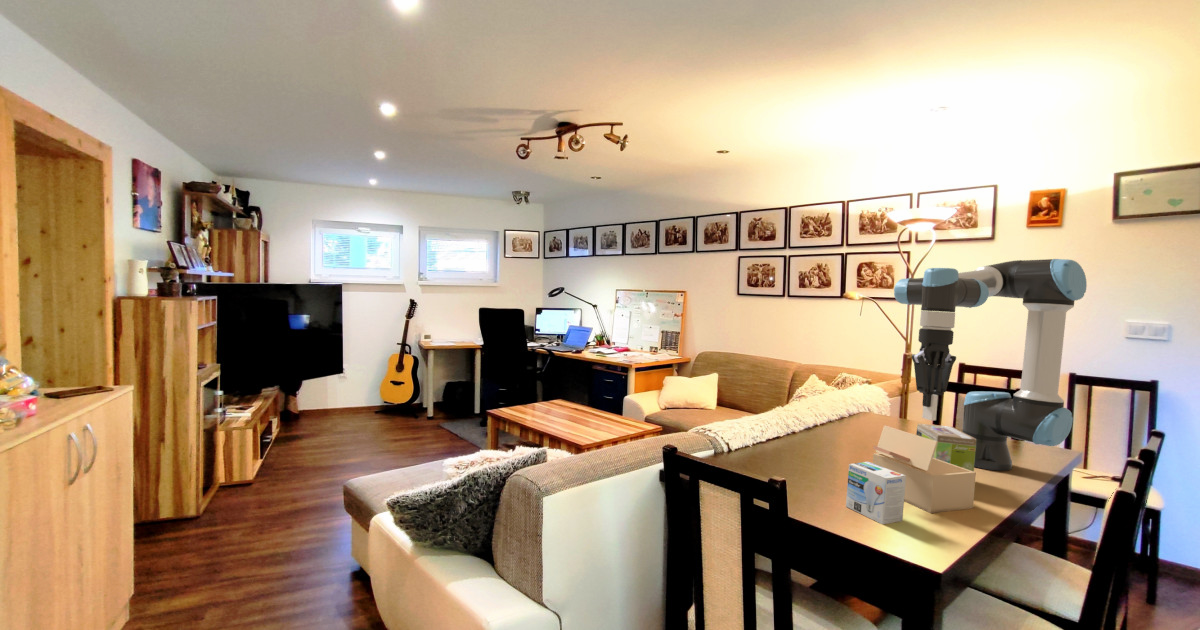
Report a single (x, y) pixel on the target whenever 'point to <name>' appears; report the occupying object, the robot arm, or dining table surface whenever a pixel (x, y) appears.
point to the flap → (906, 447)
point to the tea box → (950, 444)
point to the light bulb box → (876, 492)
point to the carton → (934, 484)
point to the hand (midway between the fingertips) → (929, 419)
